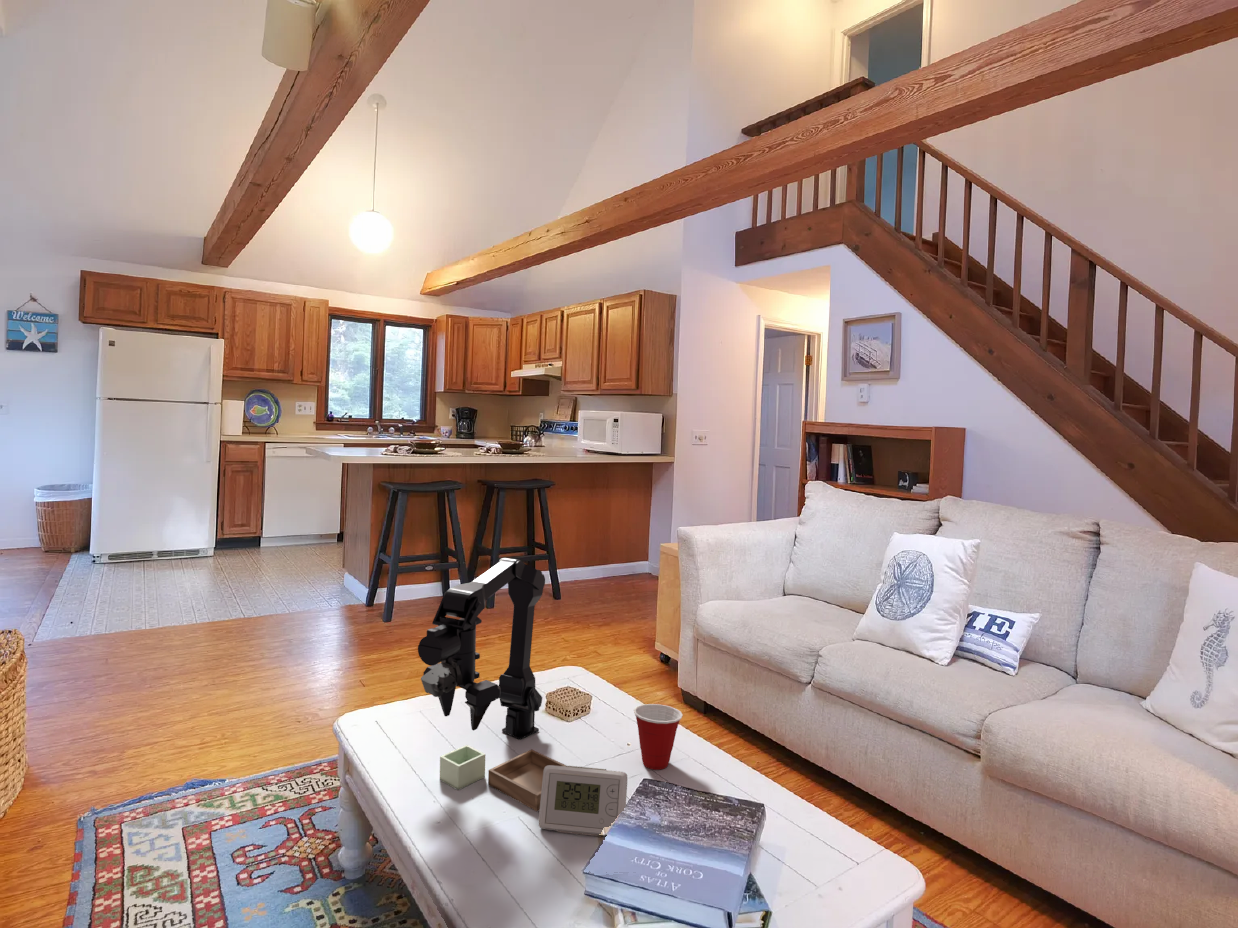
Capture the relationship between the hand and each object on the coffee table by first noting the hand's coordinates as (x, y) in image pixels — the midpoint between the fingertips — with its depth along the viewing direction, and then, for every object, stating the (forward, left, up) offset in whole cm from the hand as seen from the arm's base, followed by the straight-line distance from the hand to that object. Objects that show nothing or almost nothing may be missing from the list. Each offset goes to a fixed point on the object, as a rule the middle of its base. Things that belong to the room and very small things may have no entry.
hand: (460, 722), depth 145 cm
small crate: (0, +1, -12) cm, 12 cm away
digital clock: (-4, +31, -12) cm, 33 cm away
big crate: (-8, +14, -12) cm, 20 cm away
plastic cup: (-33, +27, -12) cm, 44 cm away
